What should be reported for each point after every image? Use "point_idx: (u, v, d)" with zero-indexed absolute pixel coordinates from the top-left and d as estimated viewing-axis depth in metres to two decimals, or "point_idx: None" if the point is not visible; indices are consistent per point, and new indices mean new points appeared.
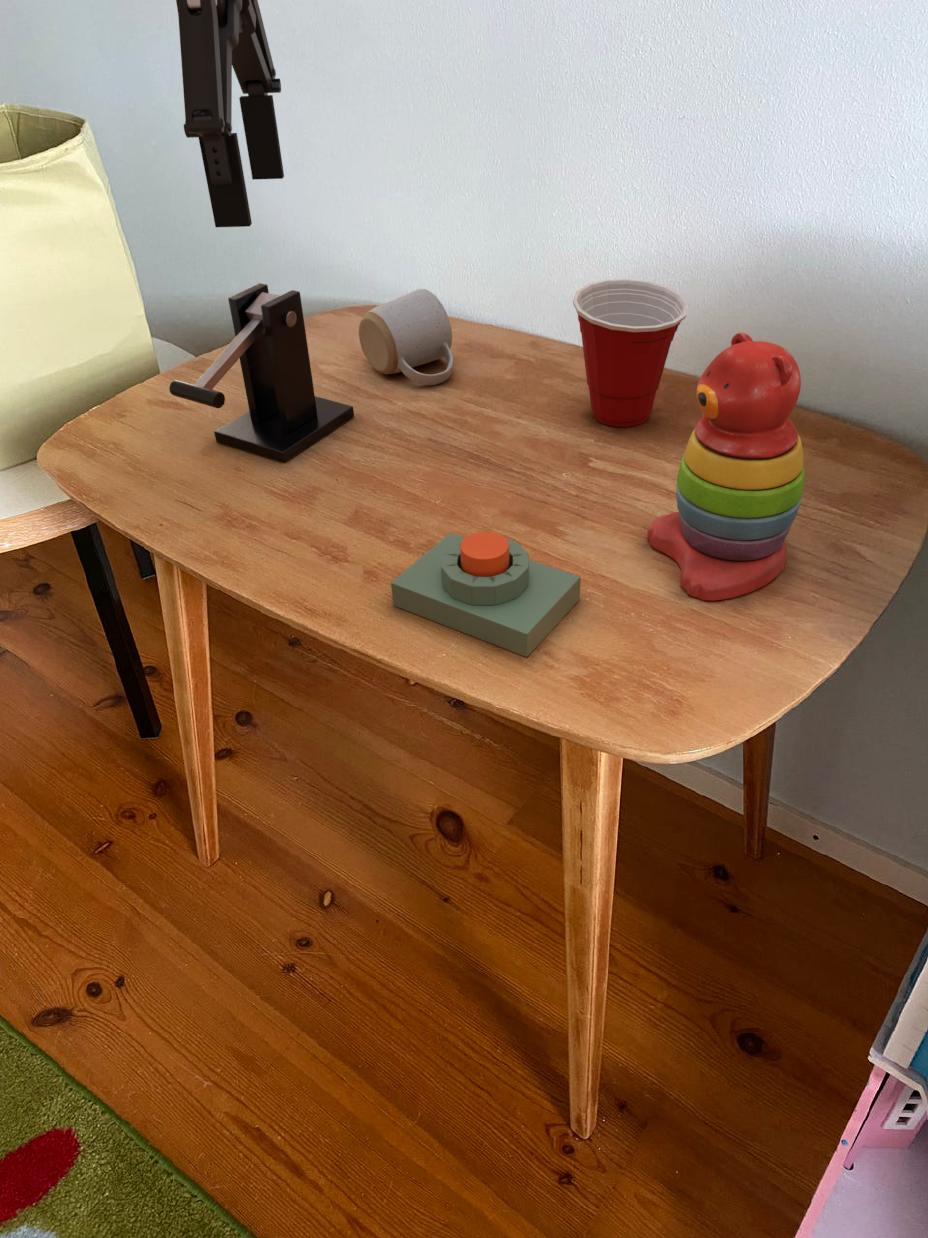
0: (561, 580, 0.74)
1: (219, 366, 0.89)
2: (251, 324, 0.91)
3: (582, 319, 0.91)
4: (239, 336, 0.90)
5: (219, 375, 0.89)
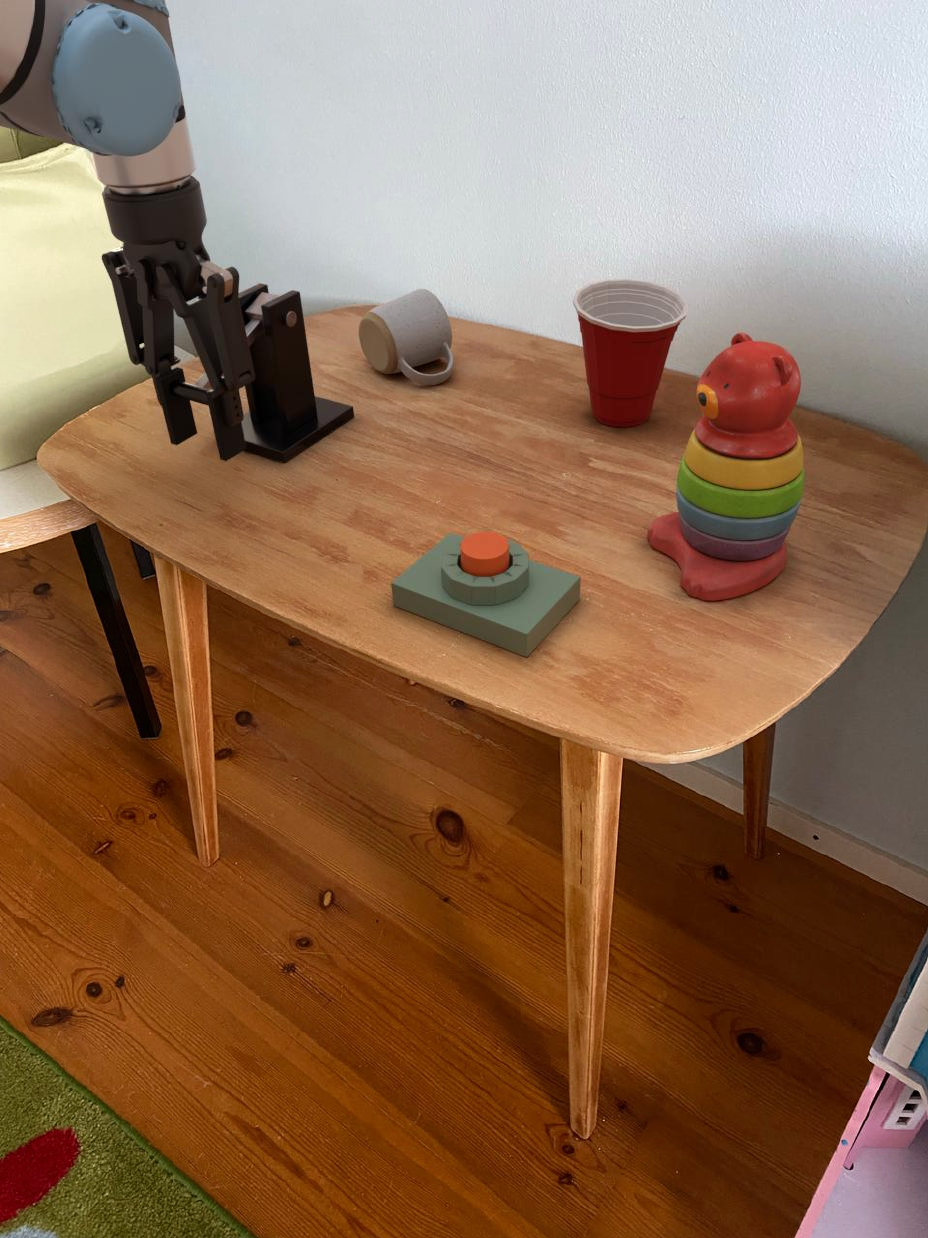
0: (561, 580, 0.74)
1: None
2: (251, 324, 0.91)
3: (582, 319, 0.91)
4: None
5: None
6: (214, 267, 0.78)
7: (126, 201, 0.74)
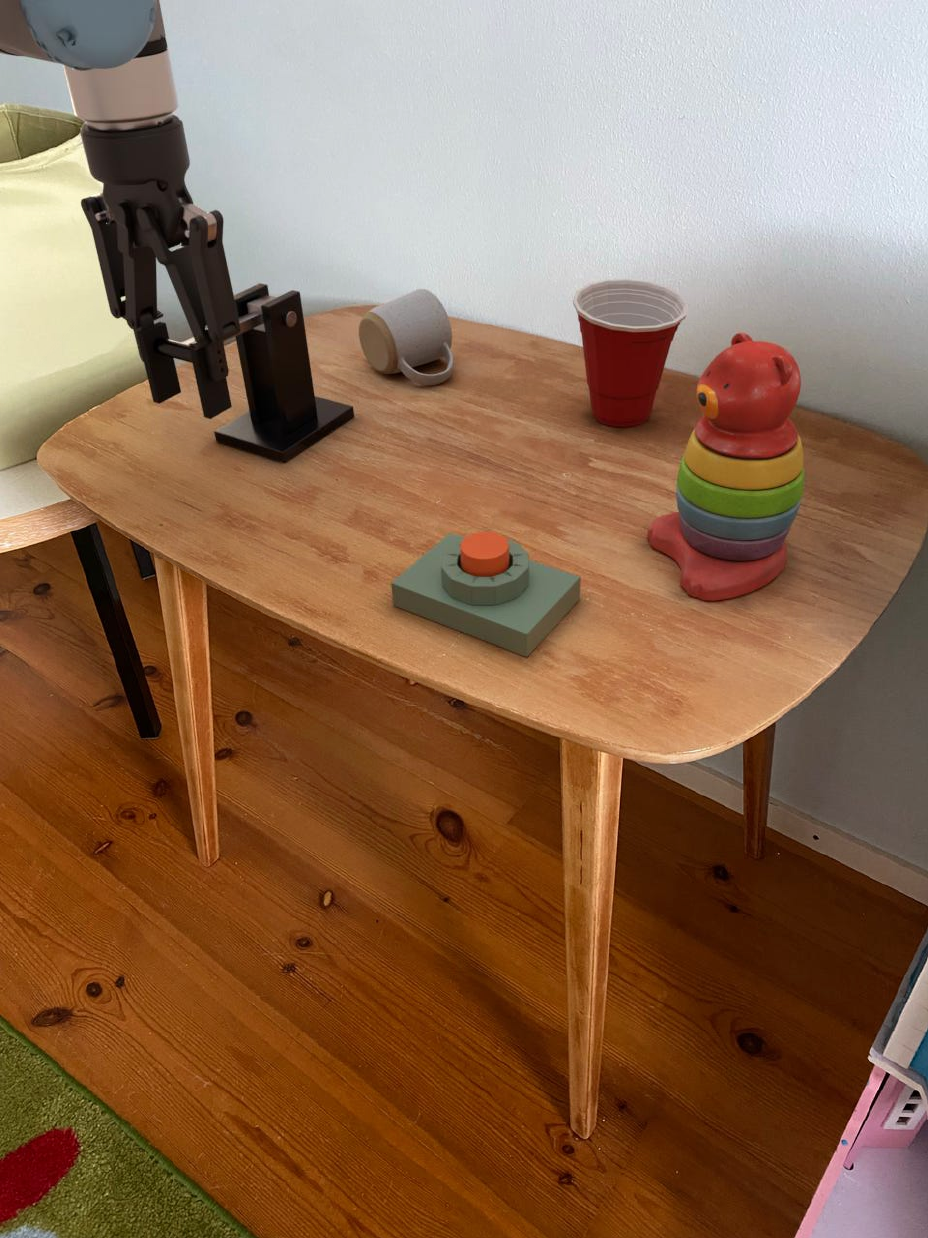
0: (561, 580, 0.74)
1: None
2: (250, 315, 0.90)
3: (582, 319, 0.91)
4: None
5: None
6: (197, 210, 0.75)
7: (105, 137, 0.71)
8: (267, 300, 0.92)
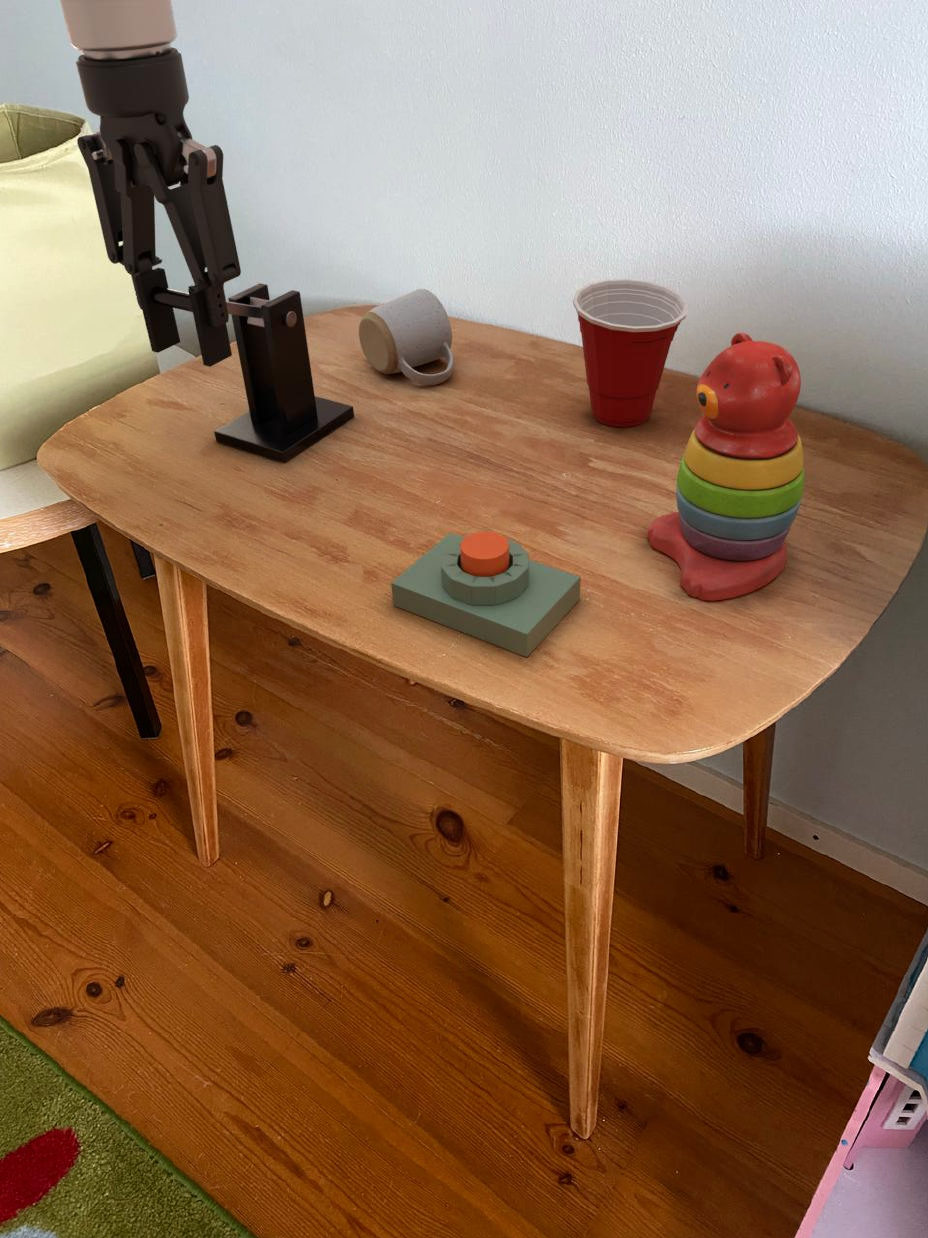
0: (561, 580, 0.74)
1: None
2: (251, 305, 0.90)
3: (582, 319, 0.91)
4: (237, 303, 0.89)
5: None
6: (196, 144, 0.73)
7: (102, 66, 0.69)
8: (270, 300, 0.92)
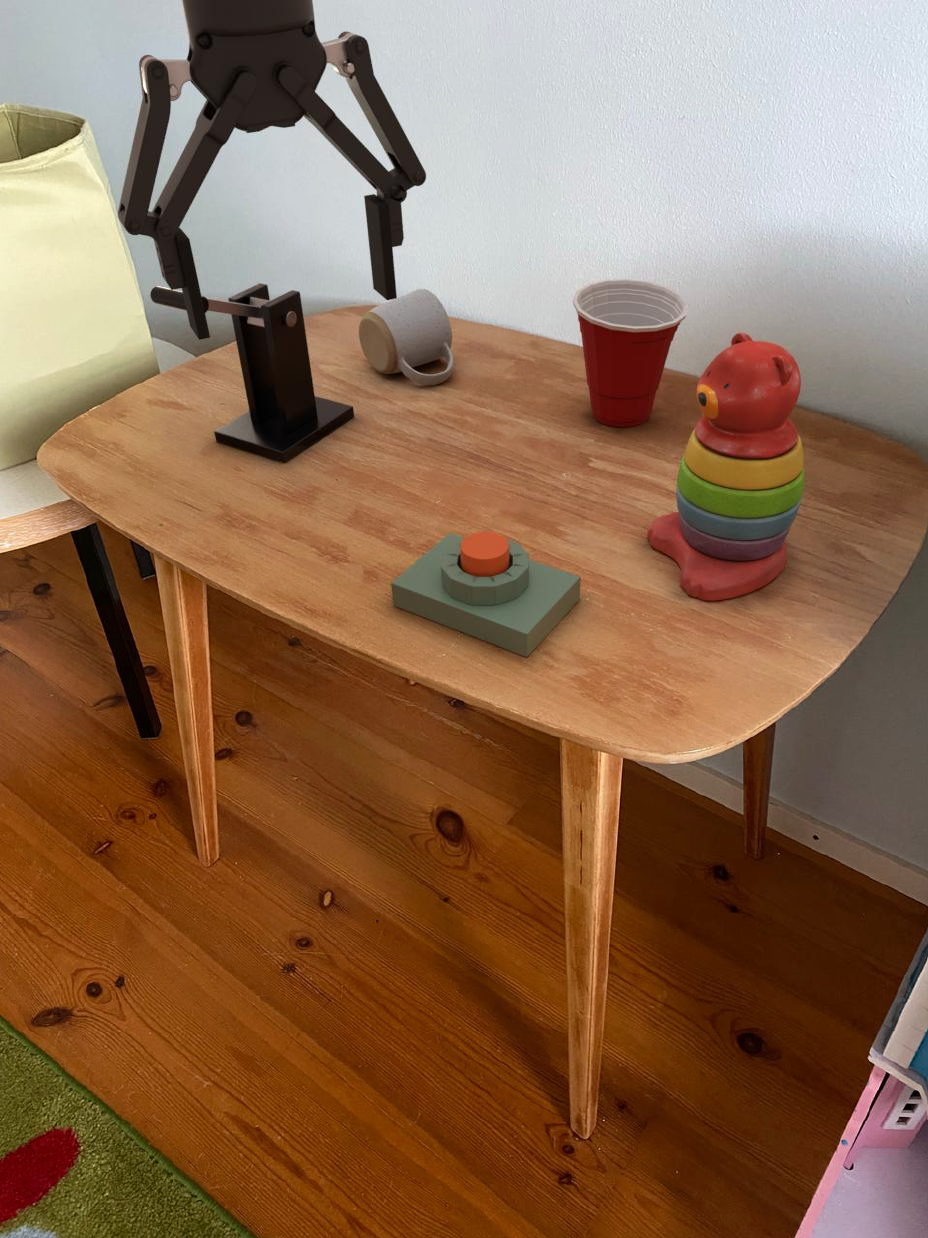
0: (561, 580, 0.74)
1: (211, 299, 0.85)
2: (251, 305, 0.90)
3: (582, 319, 0.91)
4: None
5: None
6: (335, 40, 0.61)
7: None
8: (270, 300, 0.92)
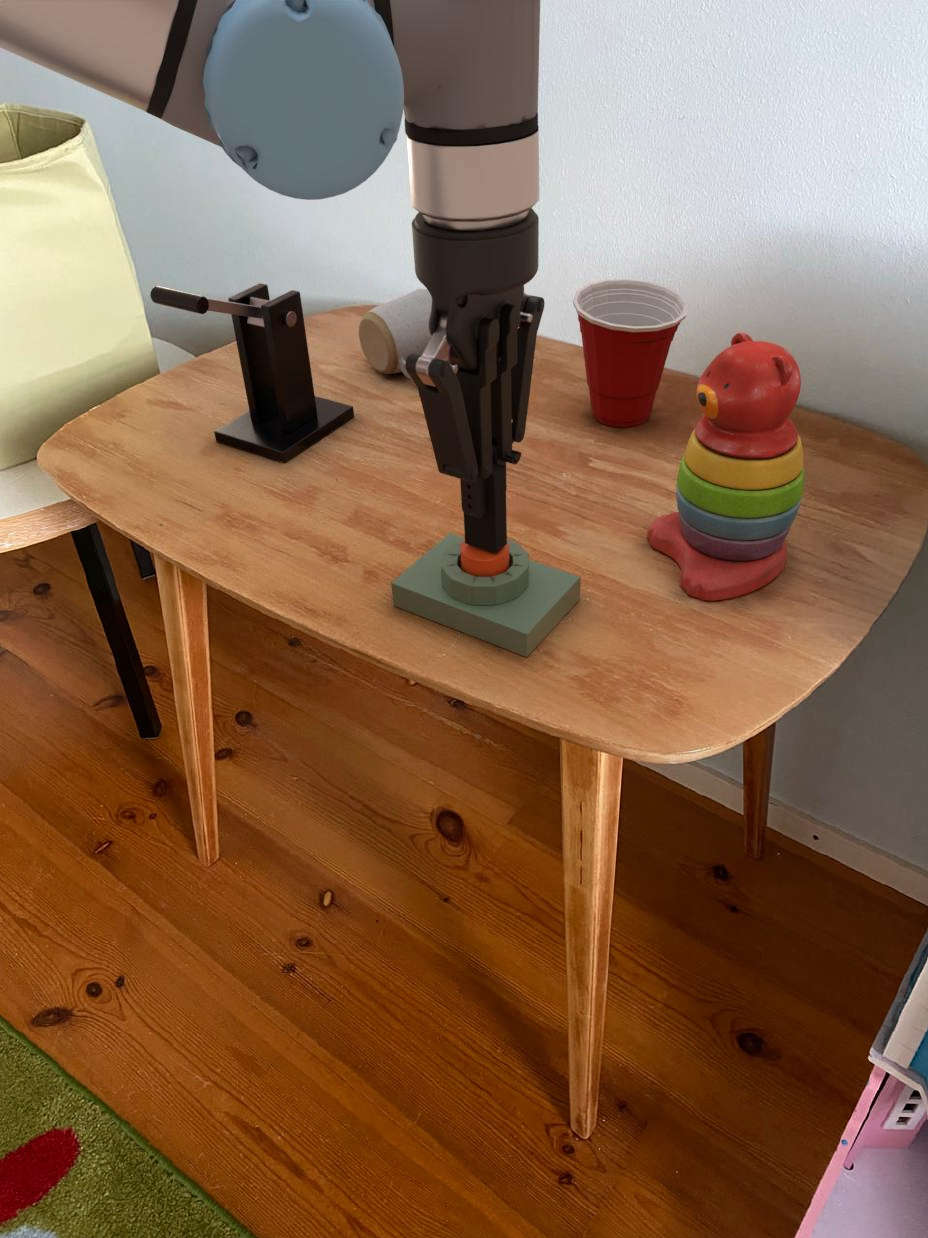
0: (561, 580, 0.74)
1: (211, 299, 0.85)
2: (251, 305, 0.90)
3: (582, 319, 0.91)
4: None
5: None
6: None
7: (533, 223, 0.57)
8: (270, 300, 0.92)
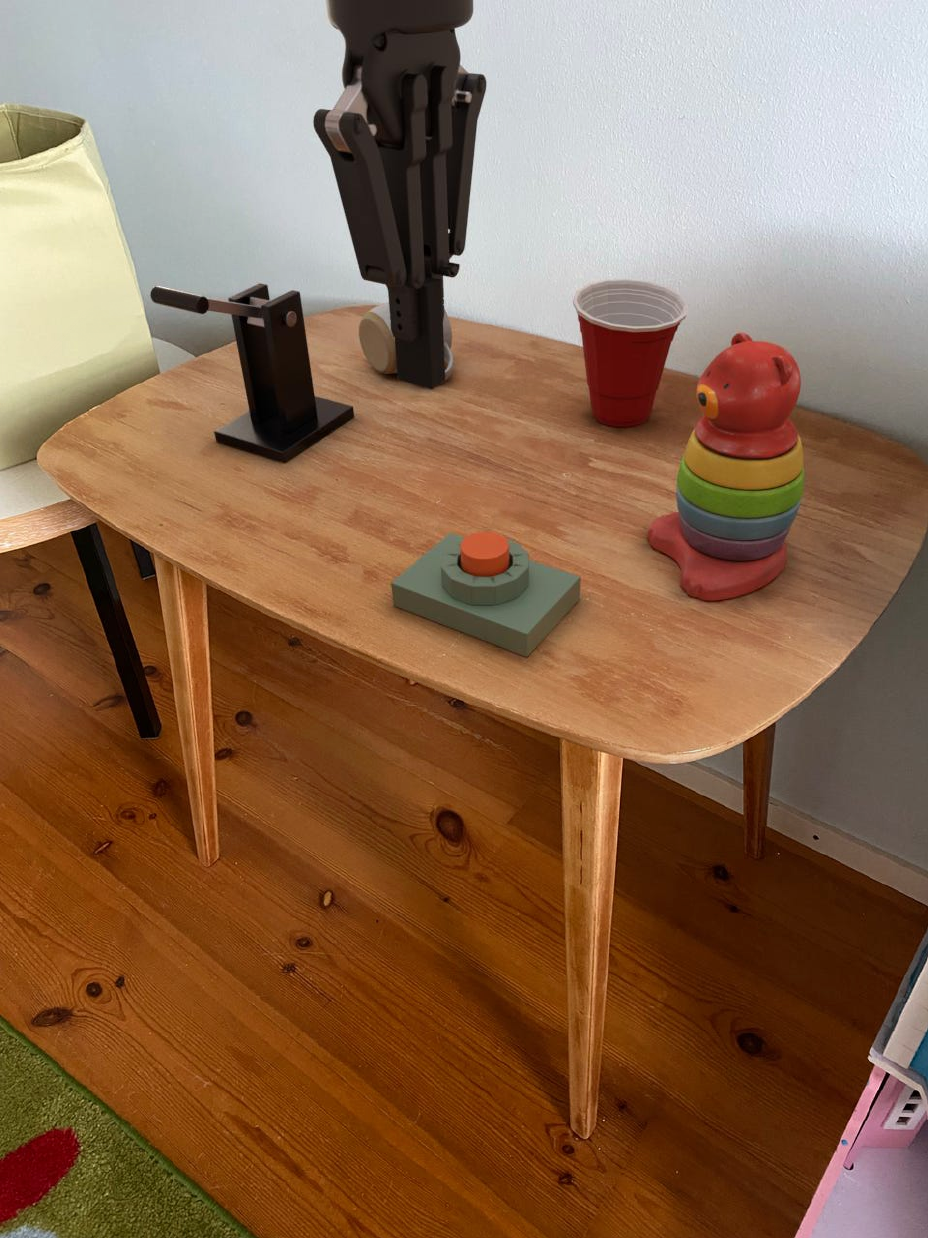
0: (561, 580, 0.74)
1: (211, 299, 0.85)
2: (251, 305, 0.90)
3: (582, 319, 0.91)
4: None
5: None
6: None
7: None
8: (270, 300, 0.92)
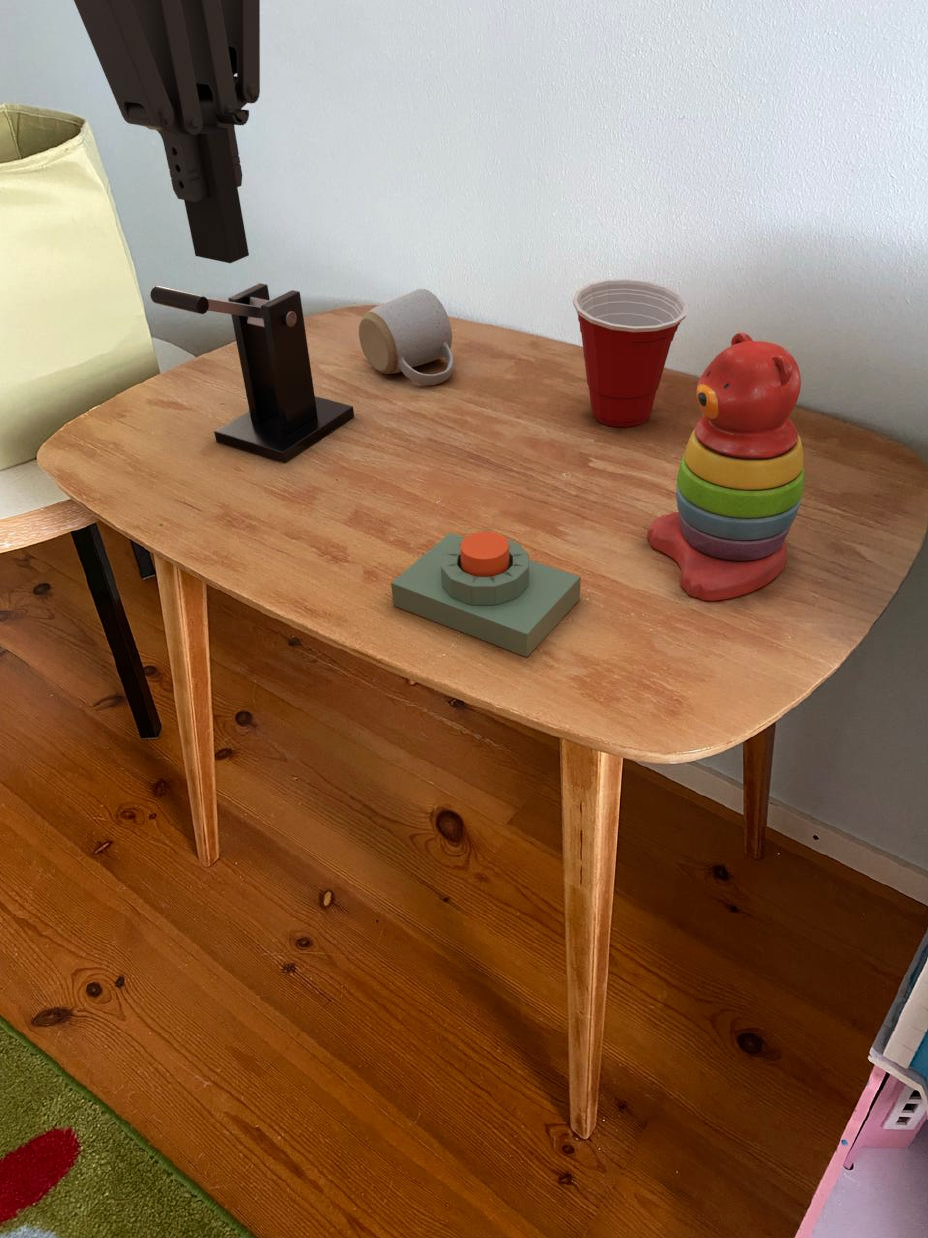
0: (561, 580, 0.74)
1: (211, 299, 0.85)
2: (251, 305, 0.90)
3: (582, 319, 0.91)
4: None
5: None
6: None
7: None
8: (270, 300, 0.92)
